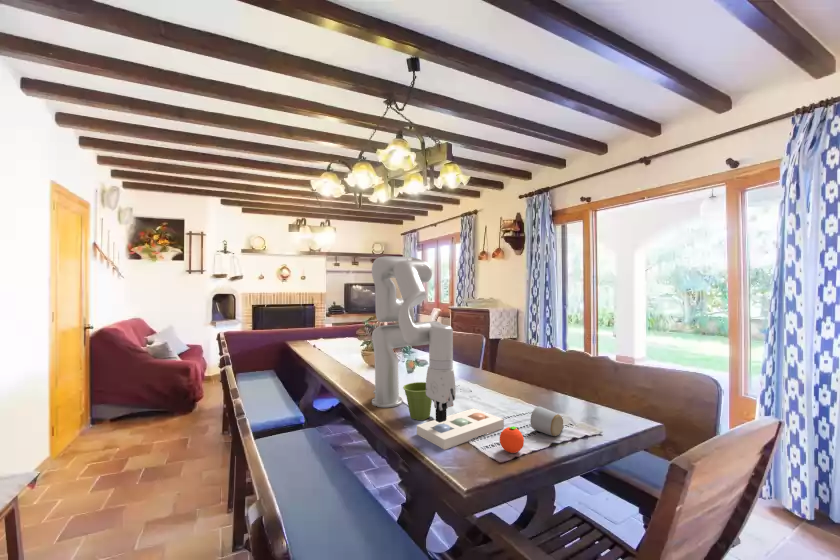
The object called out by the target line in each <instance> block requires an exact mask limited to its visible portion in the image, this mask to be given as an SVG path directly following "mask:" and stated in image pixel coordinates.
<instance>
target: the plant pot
mask: <svg viewBox="0 0 840 560" xmlns="http://www.w3.org/2000/svg"><path fill="white" fill-rule="evenodd" d="M402 389H403V390H404V393H405V396H406V401H407V402H406V403H407V406H408V411H409V417H410V418H411V419H412V420H417V421H424V420H427V419H428V418H430V416H431V412H432V411H431V410H432V403H433V400H431V399H430V398H429V397H427V395H426V381H425V382H424V381H423V382H422V381H417V382H411V383H407V384H405V385H403V387H402Z"/></svg>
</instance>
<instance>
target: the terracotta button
mask: <svg viewBox="0 0 840 560" xmlns="http://www.w3.org/2000/svg"><path fill="white" fill-rule="evenodd" d="M471 418H472V419H475V420H477V421H480V420H483V419H485V415H484V414H482V413H473V414H472V415H471Z"/></svg>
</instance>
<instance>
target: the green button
mask: <svg viewBox="0 0 840 560" xmlns="http://www.w3.org/2000/svg"><path fill="white" fill-rule="evenodd" d="M454 424H455V425H457V426H460V427H462V426H465V425H468V420H467V419H464V418H457V419H455V420H454Z"/></svg>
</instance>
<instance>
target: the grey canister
mask: <svg viewBox="0 0 840 560" xmlns="http://www.w3.org/2000/svg"><path fill="white" fill-rule="evenodd" d="M530 426H531V429H533V430H535V431H537V432H539V433H543V434H545V435H549V436H550V437H551V436H552V437H557V436H559V435H560V434H561V433H562V432H563V430H564V427H565V425H564V418H563V417H562V416H561V415H560V414H559V413H557V412H555V411H553V410H550V409H548V408H545V407H542V406H536V407H535V408H534V409H533V411H532V412H531V415H530Z"/></svg>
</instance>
